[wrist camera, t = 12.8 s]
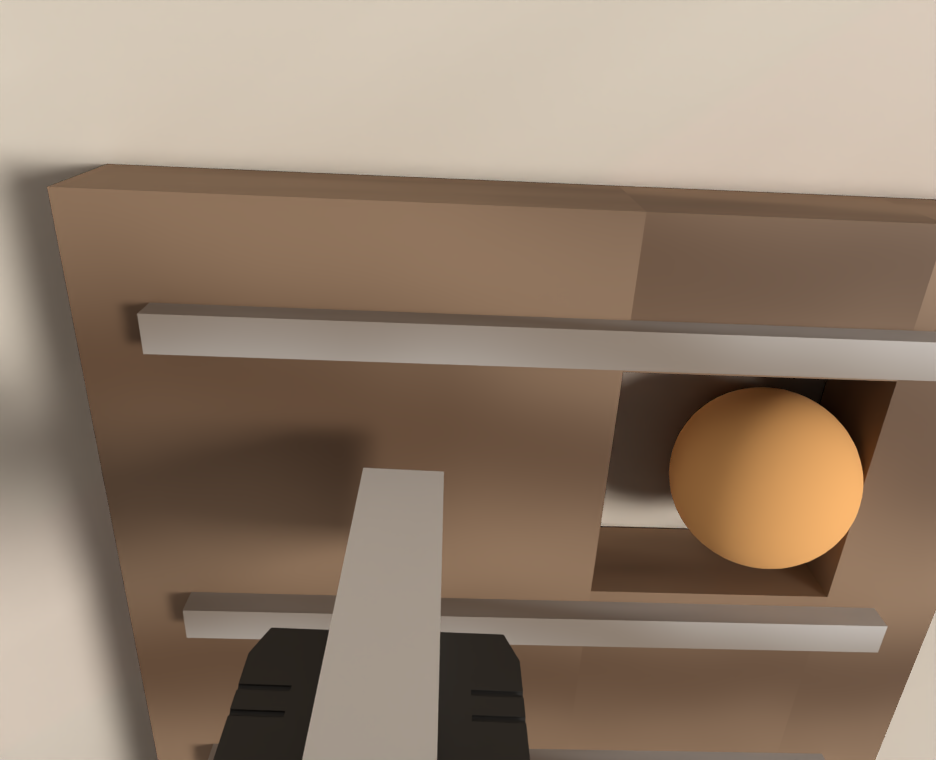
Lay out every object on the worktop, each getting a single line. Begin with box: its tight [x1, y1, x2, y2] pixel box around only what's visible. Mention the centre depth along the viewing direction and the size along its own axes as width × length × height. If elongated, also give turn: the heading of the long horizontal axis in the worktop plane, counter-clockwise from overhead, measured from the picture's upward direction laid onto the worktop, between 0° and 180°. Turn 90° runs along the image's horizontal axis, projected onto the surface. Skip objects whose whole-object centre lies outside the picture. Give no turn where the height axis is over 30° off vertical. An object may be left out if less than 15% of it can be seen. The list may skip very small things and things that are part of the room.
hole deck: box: [47, 164, 936, 760], centre depth 19 cm, size 24×19×3 cm
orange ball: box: [669, 387, 863, 569], centre depth 17 cm, size 4×4×4 cm
